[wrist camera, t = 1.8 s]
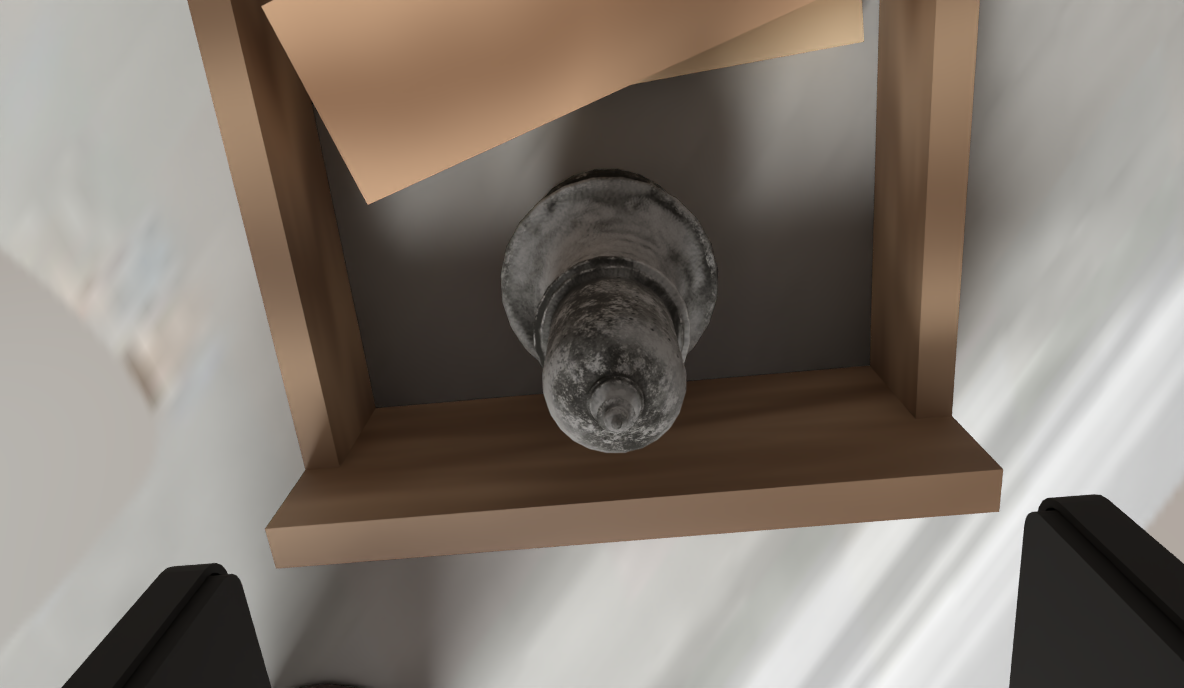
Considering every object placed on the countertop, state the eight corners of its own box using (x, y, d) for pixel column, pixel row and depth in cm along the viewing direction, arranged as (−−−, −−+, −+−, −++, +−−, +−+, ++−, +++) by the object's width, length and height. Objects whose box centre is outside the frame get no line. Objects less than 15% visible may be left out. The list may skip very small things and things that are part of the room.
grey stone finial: (691, 144, 24) (776, 232, 12) (711, 329, 26) (800, 549, 14) (496, 174, 24) (408, 287, 13) (531, 355, 26) (481, 589, 15)
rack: (242, -51, 22) (91, -93, 15) (921, -125, 21) (1066, -202, 15) (358, 463, 27) (283, 594, 21) (898, 417, 27) (996, 538, 20)
